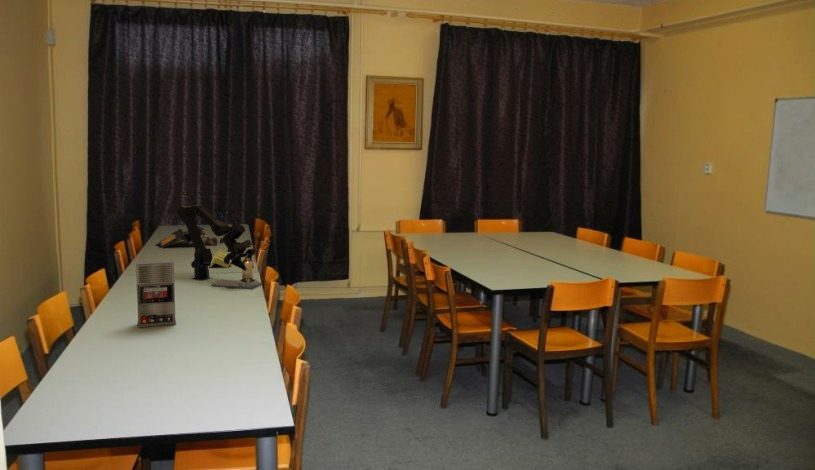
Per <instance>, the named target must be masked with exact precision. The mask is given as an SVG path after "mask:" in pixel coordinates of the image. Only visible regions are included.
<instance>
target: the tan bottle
mask: <svg viewBox="0 0 815 470" xmlns="http://www.w3.org/2000/svg"><path fill="white" fill-rule="evenodd" d="M243 260H244V259H243ZM243 260H241V261H242V262H243V264H244V265H245V267H246V269H247V270H246V271H244V270H243V269H241V270H242V271H241V276H242V277H241V279H242V282H253V279H254V277H253V275H254V274H253V273H254V271H253V269H254V268H253V266H254V263H253V260H252V261H251V260H250V258H245V260H244V261H243Z"/></svg>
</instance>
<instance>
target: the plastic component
mask: <svg viewBox="0 0 815 470" xmlns="http://www.w3.org/2000/svg"><path fill="white" fill-rule="evenodd" d="M228 253H229V252H228V251H225V250H223V249H221V248H218V250H217V251H216V252H215V254H214V255H213V256H212V258H213V259H212V262H211V265H210V266H208V269H209V268H212V266H213V265H215V264H217V265H218V266H221V267H223V268H226V269H227V268H229V267H230V265H231V262H232V261H231V260H230V263H229V264H225V263H224V258H225V257H226V256H227V254H228Z"/></svg>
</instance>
